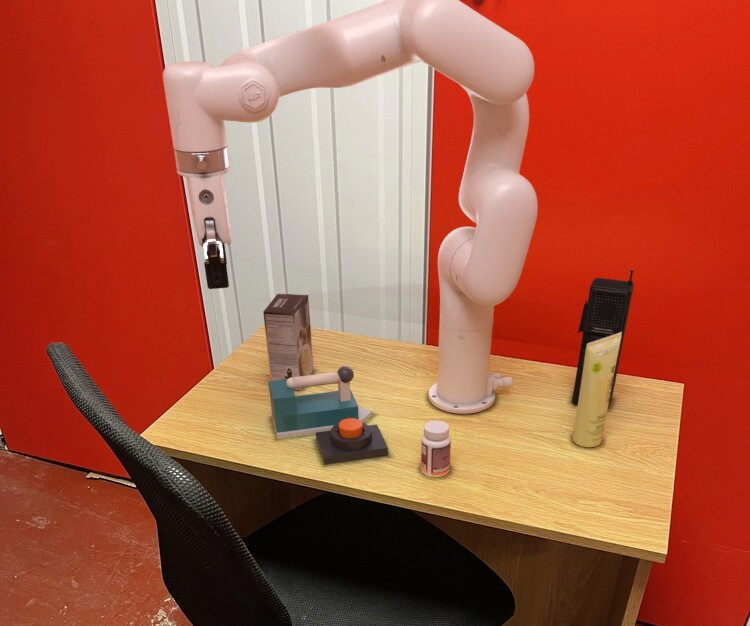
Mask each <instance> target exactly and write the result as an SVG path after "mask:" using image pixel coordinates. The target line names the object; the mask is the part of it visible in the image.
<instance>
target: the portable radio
mask: <svg viewBox="0 0 750 626" xmlns="http://www.w3.org/2000/svg"><path fill="white" fill-rule="evenodd" d="M629 272H630V274H629V279H628V280H619V279H611V278H604V277H596V278H594V279H593V280H592V282H591V284H590V286H589V290H588V291H589V292H588V297H587V300H585V302H584V304H583V308H582V311H581V312H582V313H581V317H580V322H579V326H578V331H577V334H580V333H582V336H581V337H582V338H581V341H580V342H581V343H580V347H579V348H580V349H579V355H578V361H577V367H576V373H575V379H574V385H573V392H572V398H571V402H572V404H574V405H578V401H579V394H580V387H581V381H582V374H583V367H584V359H585V352H586V346H587V343H590V342H594V341H597V340H600V339H603V338H606V337H609V336H612V335H614V334H617V333H620V332H622V336H621V342H620V347H619V352H618V357H617V362H616V367H615V373H614V378H613V384H612V389H611V394H610V400H609V405H608V410H609V408H610V406H611V403H612V400H613V395H614V390H615V386H616V380H617V376H618V370H619V365H620V359H621V355H622V349H623V345H624V339H625V334H626V329H627V323H628V317H629V314H630V313H629V312H630V307H631V302H632V297H633V292H634V282H633V280H632V278H633V275H634V272H635V270H631V269H630V270H629Z"/></svg>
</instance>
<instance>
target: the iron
mask: <svg viewBox="0 0 750 626" xmlns="http://www.w3.org/2000/svg"><path fill="white" fill-rule="evenodd" d="M354 373H355V372H354V370H353V369H352V368H351V367H350V366H347V365H342V366H341V367H339V368H338V369H337V371H333V372H332V371H331V372H325V373H317V374H311V375H307V376H299V377H291V378H289V379H285V380H277V381H271V380H269V381H268V387H269V388H268V390H269V401H270V408H271V409H270V410H271V419H272V422H273V427H274V431H275V434H276V438H277V440H281V439H288V438H295V437H300V436H302V437H303V436H309V435H316V432H323V431H330V430H331V429H332V427H333V426H334V425H336V424H338V423H340V422H341V421H342V420H344V419H348V418H354V419H358V420H360V421H361V422H363V423H365V422H367V421H369V419H370V418H371V417H373V415H374V412H373V410H372V409H368V408H364V407H362V406H359V405H358V403H357V401H356V398H355V396H354V393H353V392H352V389H351V382H352V381H353V379H354V376H355V374H354ZM336 384H337V387H338V388H337V390H336V391H326V392H318V393H310V394H302V395H296V394H295V390H293V389H296V388H302V389H303V388H311V387H321V386H328V385H336Z"/></svg>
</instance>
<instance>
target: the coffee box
mask: <svg viewBox="0 0 750 626" xmlns="http://www.w3.org/2000/svg"><path fill="white" fill-rule="evenodd" d="M262 314H263V322H264V329H265V330H264V331H265V341H266V349H267V359H268V365H269V366H268V368H269V375H270V376H269V377H270V381H277V380H285V379H289V378H291V377H299V376H307V375H312V374H313V371H314V357H313V356H314V355H313V344H312V343H313V342H312V341H313V340H312V327H311V315H310V302H309V295H308V294H295V293H294V294H293V293H292V294H291V293H277V294H276V295H275V296H274V298H273V299H272V300H271V301H270V303H269V304H268V305H267V307H266V308H265V309H263V312H262ZM302 390H303V388H296V389H293V391H302Z"/></svg>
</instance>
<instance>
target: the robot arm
mask: <svg viewBox="0 0 750 626" xmlns="http://www.w3.org/2000/svg"><path fill="white" fill-rule="evenodd" d="M416 63H417V64H418V63H422V64H426V65H427V66H428V67H431V68H432V69H434V71H437V72H438V73H440V74H442V75H443V76H445V77H446V78H448V79H450V80H451V81H453V82H455V83H457V84H458V85H459V86H460V87H461V88H462V89H463V90H464V91H465V92H466V93H467V95H468V98H469V100H470V102H471V105H472V106H471V107H472V111H473V125H472V133H471V139H470V144H469V149H468V153H467V157H466V161H465V165H464V170H463V174H462V178H461V182H460V187H459V192H458V204H459V207H460V209H461V211H462V212H463V213H464V215H466V217H468V219H470V220H471V221H472V222H473V223H475V224H476V226H475V227H474V226H461V227H458V228H455V229H453V230H452V231H450V233H448V234H447V235H446V236H445V237H444V239H443V241H441V244H440V247H439V250H438V254H437V255H438V256H437V274H438V283H439V325H438V326H439V327H438V328H439V329H438V350H437V357H438V358H437V375H436V377H437V378H436V382H435V383H433V384H432V385H431V386H430V387H429V389H428V400H429V401H430V403H431V404H432V405H433V407H435V408H437V409H439V410H440V411H444V412H446V413H447V412H448V413H452V414H459V415H468V414H475V413H480V412H482V411H485V410H488V409H489V408H490V407H492V406H493V404H495V401H496V391H497V390H498V389H505V388H512V387H513V385H514V384H513V383H514V380H513V378H512V376H505V377H503V376H502V373H501V372H497V373H492V374H490V362H491V353H492V352H491V351H492V339H493V328H494V327H493V325H494V316H495V306H497V305H499V304H501V303H503V302H505V301H506V300H508V298H509V297H510V296H511V295H512V293H514V291H515V289H516V288H517V285H518V283H519V280H520V278H521V275H522V272H523V268H524V265H525V261H526V258H527V255H528V252H529V248H530V246H531V245H530V244H531V240H532V238H533V234H534V230H535V226H536V223H537V219H538V218H537V217H538V209H539V205H538V196H537V193H536V190H535V188H534V187H533V185H532V183H531V182H530V181H529V180H528V179H527V178H526V177H524V176H523V175H521V174H520V171H521V167H522V166H521V165H522V163H523V157H524V152H525V147H526V143H527V137H528V133H529V126H530V106H529V99H528V95H527V92H528V91H529V89H530V87H531V85H532V83H533V81H534V76H535V60H534V56H533V53H532V51H531V50H530V48H529V47H528V45H527V44H526V42H524V41H523V40H522V39H520V38H519V37H518V36H515V35H514V34H512V33H511V32H509V31H507V30H506V29H504V28H502V27H501V26H500V25H498V24H496V23H495V22H494V21H492V20H491V19H488V18H487V17H485V16H484V15H482V14H481V13H479V12H478V11H476V10H474V9H473V8H471V7H470V6H469V5H467V4H465V3H464V2H462V1H460V0H383V1H381V2H378V3H376V4H373V5H370V6H369V7H368V6H367V7H365V8H361V9H359V10H357V11H354V12H351V13H349V14H345V15H343V16H340V17H337V18H334V19H331V20H329V21H325V22H321V23H318V24H315V25H312V26H310V27H307V28H305V29H300V30H297V31H295V32H291V33H287V34H285V35H281V36H278V37H275V38H272V39H269V40H266V41H264V42H261V43H258V44H255V45H253V46H250V47H247V48H245V49H242V50H239V51H237V52H234V53H233V54H231V55H229V56H228V57H227V58H225V59H224V61H223V62H222V63H221V64H220V66H214V65H213V64H212V63H210V62H206V61H196V60H195V61H193V60H192V61H190V60H189V61H178V62H174V63H170V64H168V65H166V67H164V70H163V72H162V81H163V87H164V88H163V89H164V94H165V101H166V107H167V113H168V120H169V126H170V133H171V134H170V135H171V140H172V146H173V153H174V160H175V167H176V173H177V174H178V175H179V176H181V177H184V178H185V177H186V183H187V184H186V185H187V190H188V195H189V196H188V197H189V202H190V208H191V209H190V210H191V214H192V219H193V223H194V229H195V233H196V238H197V242H198V245H199V246H201V247H202V248H203V253H204V262H203V265H204V271H205V279H206V286H207V289H208V290H217V289H228V288H229V287H230V284H229V283H230V282H229V274H228V266H227V265H228V263H227V261H228V259H227V253H226V246H225V245H226V244H227V246H230V245H231V244H232V230H231V222H230V214H229V213H230V212H229V204H228V197H227V188H226V183H225V178H224V175H225V174H227V173H229V172H230V171H231V169H230V160H229V152H228V142H227V136H226V135H227V134H226V126H225V121H226V122H228V121H229V122H238V123H248V124H249V123H250V124H251V123H259V122H263V121H265V120H267V119H268V118H270V117H271V116H272V115H273V114H274V112H275V111H276V110H277V108H278V105H279V102H280V98H281V97H285V96H288V95H290V94H293V93H297V92H302V91H305V90H310V89H319V88H320V89H321V88H322V89H323V88H326V89H343V88H351V87H355V86H358V85H360V84H363V83H366V82H369V81H372V80H373V79H375V78H378V77H381V76H385V75H387V74H389V73H392V72H394V71H397V70H400V69H403V68H406V67H409V66H411V65H414V64H416Z"/></svg>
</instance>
